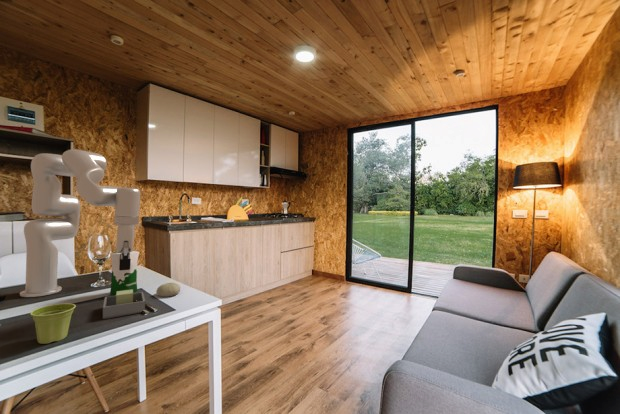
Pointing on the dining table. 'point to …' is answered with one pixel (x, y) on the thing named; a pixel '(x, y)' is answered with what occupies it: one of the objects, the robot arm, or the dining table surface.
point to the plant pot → (52, 322)
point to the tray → (123, 306)
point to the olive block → (124, 297)
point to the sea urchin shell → (168, 289)
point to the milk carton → (123, 274)
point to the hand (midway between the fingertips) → (124, 266)
